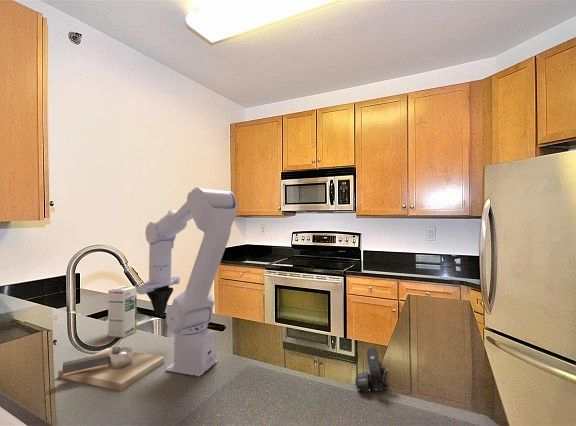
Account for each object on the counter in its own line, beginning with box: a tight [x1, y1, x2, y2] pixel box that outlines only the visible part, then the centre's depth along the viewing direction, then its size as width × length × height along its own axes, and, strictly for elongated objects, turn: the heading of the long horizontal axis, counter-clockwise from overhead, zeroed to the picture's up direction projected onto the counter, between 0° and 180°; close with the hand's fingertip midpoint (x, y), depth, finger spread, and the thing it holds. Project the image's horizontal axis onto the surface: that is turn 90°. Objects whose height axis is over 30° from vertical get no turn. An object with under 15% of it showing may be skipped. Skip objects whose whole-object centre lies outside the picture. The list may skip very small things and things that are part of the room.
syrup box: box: [107, 285, 138, 339], centre depth 95 cm, size 6×6×14 cm
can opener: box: [354, 346, 390, 392], centre depth 70 cm, size 18×7×6 cm, turn 163°
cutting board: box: [57, 347, 165, 392], centre depth 71 cm, size 18×15×2 cm
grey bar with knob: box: [62, 346, 134, 374], centre depth 69 cm, size 14×5×4 cm, turn 123°
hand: (159, 314), depth 84 cm, fingers closed
